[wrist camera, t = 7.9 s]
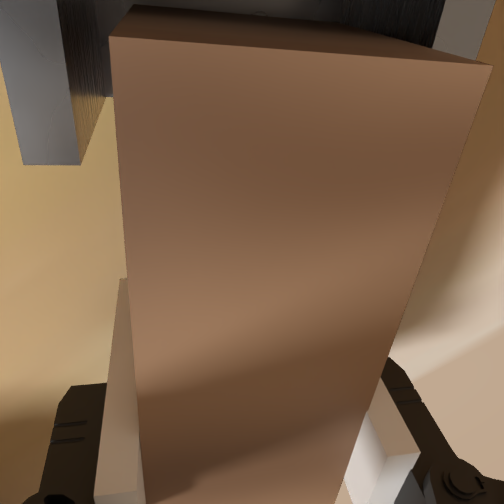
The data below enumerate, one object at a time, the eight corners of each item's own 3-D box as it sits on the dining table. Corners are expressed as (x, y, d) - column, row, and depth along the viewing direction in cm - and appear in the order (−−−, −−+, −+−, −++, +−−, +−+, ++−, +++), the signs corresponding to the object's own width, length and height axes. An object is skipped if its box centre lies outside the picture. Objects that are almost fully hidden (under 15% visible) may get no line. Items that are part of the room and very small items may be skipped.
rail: (133, 3, 10) (108, 37, 5) (339, 23, 11) (493, 65, 6) (155, 463, 19) (155, 631, 14) (264, 450, 20) (297, 604, 15)
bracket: (58, -122, 12) (-166, -309, 4) (352, -85, 13) (658, -155, 5) (83, 72, 14) (-12, 217, 6) (325, 83, 16) (496, 209, 8)
